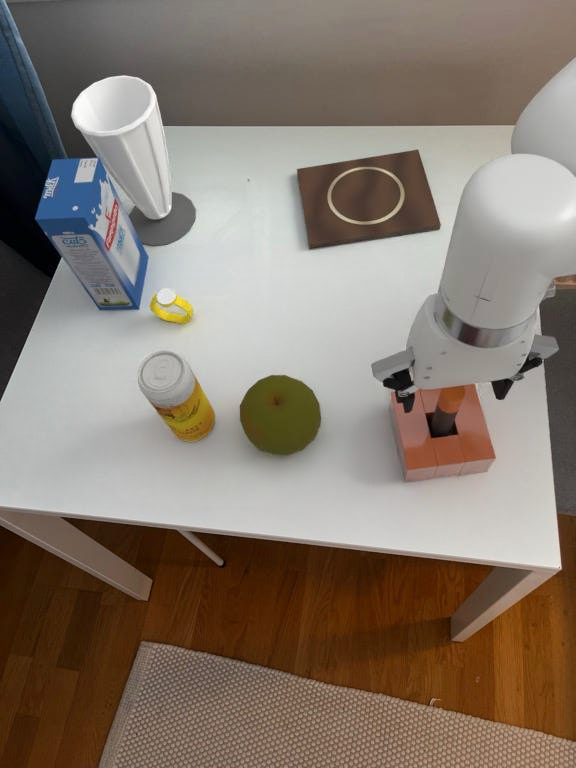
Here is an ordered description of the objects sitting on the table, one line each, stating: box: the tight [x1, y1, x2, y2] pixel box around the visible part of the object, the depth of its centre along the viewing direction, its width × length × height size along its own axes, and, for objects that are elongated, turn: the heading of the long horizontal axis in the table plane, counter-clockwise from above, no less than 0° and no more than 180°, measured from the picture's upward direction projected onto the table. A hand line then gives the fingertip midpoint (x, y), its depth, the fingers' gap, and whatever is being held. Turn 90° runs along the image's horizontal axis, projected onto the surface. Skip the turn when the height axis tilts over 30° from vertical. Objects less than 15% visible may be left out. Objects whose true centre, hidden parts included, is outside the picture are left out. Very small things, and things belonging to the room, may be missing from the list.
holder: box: [388, 384, 497, 484], centre depth 71 cm, size 10×10×5 cm
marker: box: [429, 385, 465, 439], centre depth 67 cm, size 2×2×14 cm
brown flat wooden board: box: [296, 149, 442, 250], centre depth 91 cm, size 20×16×1 cm
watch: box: [149, 287, 194, 325], centre depth 83 cm, size 6×3×6 cm, turn 77°
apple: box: [238, 374, 322, 456], centre depth 71 cm, size 10×10×11 cm
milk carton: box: [34, 156, 149, 311], centre depth 81 cm, size 10×6×20 cm, turn 178°
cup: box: [70, 74, 197, 247], centre depth 85 cm, size 12×12×22 cm
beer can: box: [137, 350, 216, 443], centre depth 71 cm, size 6×6×15 cm
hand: (450, 394), depth 61 cm, fingers open, 9 cm apart
